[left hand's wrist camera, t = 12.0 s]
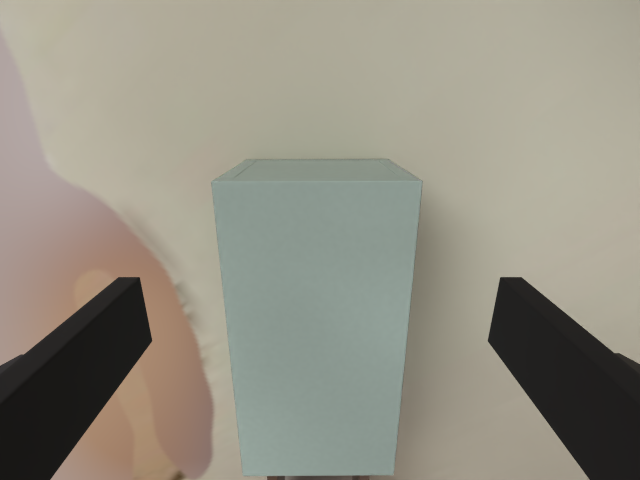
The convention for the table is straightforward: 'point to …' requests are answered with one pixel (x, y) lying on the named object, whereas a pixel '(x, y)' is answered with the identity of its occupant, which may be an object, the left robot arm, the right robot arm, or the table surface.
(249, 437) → the cabinet
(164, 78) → the table surface
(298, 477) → the drawer
